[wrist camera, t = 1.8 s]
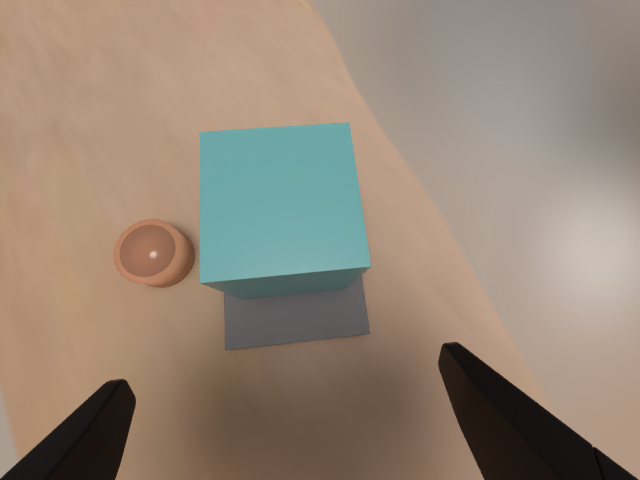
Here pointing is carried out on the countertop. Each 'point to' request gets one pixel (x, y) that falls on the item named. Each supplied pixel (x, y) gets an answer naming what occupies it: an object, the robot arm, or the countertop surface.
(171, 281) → the bowl
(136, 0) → the countertop surface
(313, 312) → the mat
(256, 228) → the teal rectangular block
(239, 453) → the countertop surface
